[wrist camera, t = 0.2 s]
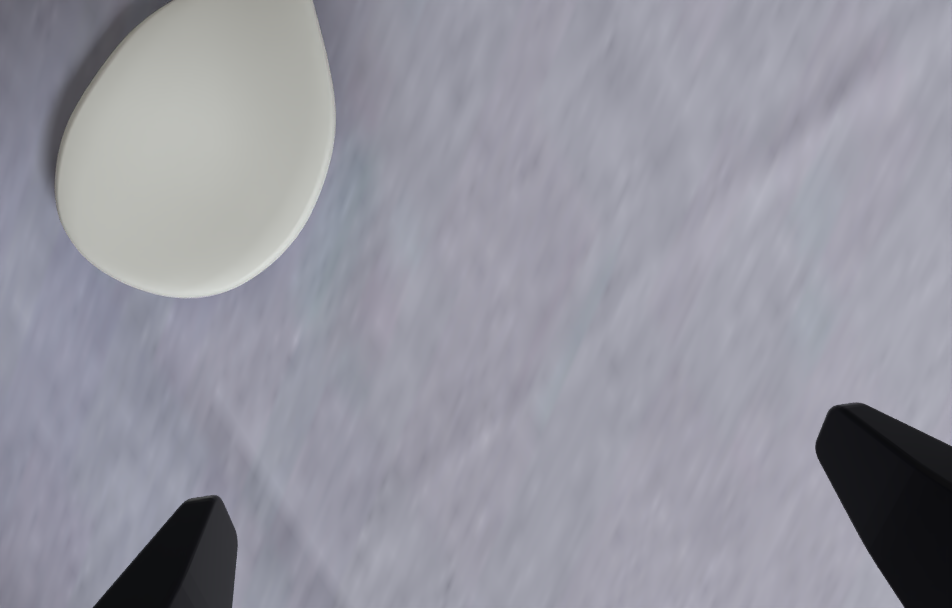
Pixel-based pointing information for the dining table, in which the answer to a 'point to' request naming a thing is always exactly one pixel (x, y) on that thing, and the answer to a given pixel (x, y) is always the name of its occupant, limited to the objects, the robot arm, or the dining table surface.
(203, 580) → the robot arm
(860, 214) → the dining table surface
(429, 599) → the dining table surface
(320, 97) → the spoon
